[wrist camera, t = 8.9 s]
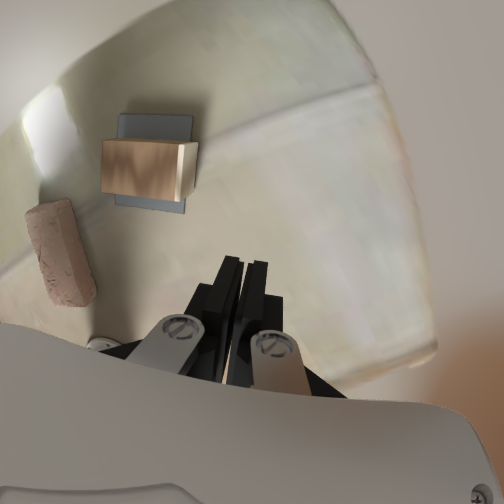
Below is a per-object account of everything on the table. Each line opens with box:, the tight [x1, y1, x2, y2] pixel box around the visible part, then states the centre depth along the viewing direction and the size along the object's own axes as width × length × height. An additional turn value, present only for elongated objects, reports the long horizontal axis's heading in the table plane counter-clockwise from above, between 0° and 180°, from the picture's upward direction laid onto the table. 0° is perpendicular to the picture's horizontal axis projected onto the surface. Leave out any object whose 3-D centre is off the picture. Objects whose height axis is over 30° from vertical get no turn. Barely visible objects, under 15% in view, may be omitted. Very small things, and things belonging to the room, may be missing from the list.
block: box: [101, 138, 198, 202], centre depth 32 cm, size 6×5×10 cm
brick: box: [25, 199, 97, 307], centre depth 39 cm, size 17×8×5 cm, turn 7°
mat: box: [115, 114, 193, 214], centre depth 34 cm, size 12×10×1 cm
